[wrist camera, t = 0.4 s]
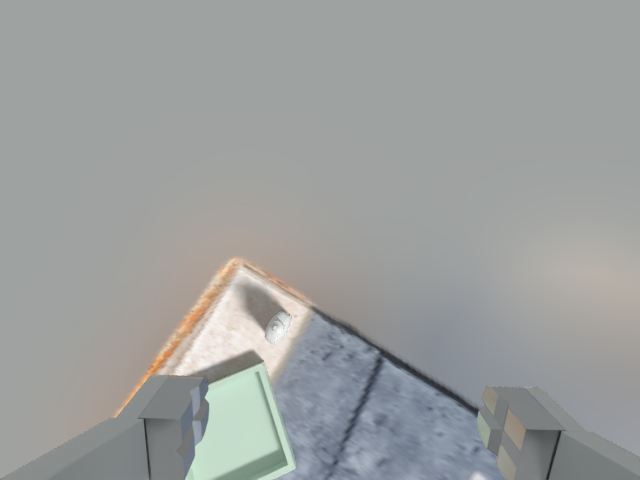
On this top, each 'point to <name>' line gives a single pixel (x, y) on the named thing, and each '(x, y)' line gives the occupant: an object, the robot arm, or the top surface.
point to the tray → (243, 431)
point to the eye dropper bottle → (278, 327)
